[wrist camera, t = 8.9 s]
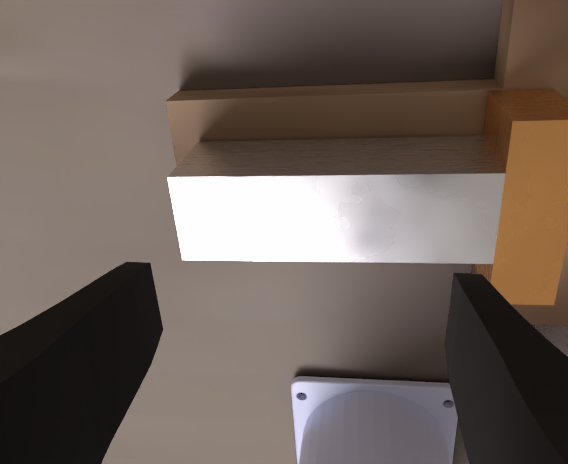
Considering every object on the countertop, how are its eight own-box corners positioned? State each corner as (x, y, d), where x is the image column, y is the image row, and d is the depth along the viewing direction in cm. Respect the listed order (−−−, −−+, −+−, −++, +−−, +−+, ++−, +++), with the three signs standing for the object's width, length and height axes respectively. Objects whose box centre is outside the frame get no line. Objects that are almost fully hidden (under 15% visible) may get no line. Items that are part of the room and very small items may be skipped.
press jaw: (526, 251, 20) (554, 305, 17) (213, 247, 22) (189, 296, 19) (553, 88, 17) (592, 119, 14) (191, 101, 19) (158, 130, 16)
